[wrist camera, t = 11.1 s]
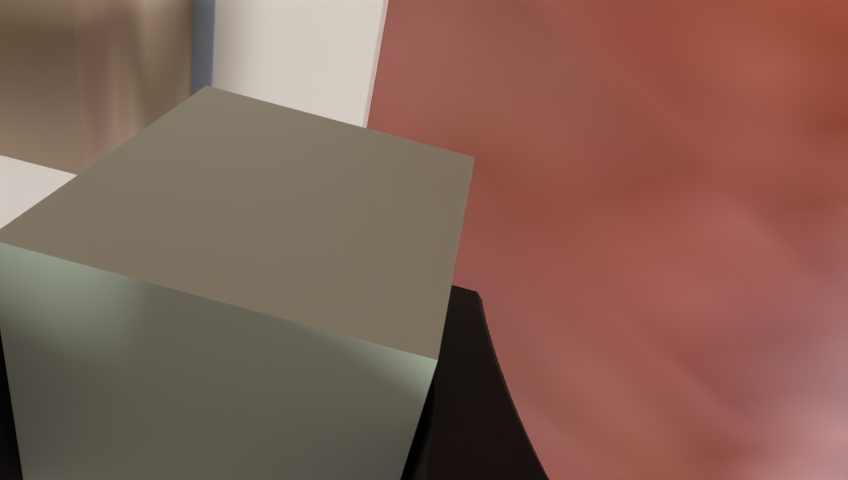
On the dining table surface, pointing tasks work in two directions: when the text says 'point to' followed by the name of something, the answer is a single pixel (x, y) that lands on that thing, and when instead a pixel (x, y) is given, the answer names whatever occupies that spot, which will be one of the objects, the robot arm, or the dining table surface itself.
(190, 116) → the sage block
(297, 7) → the white flat slab
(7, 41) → the maple block
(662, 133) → the dining table surface
